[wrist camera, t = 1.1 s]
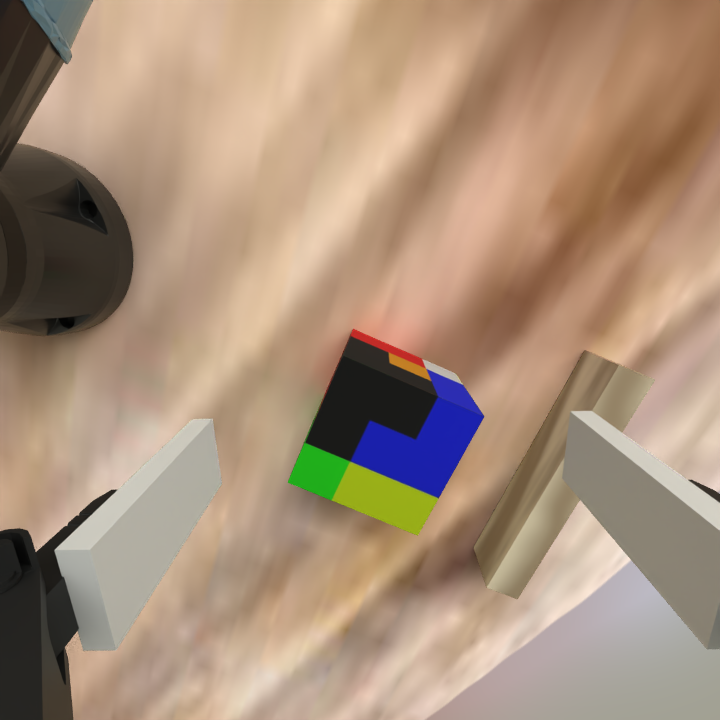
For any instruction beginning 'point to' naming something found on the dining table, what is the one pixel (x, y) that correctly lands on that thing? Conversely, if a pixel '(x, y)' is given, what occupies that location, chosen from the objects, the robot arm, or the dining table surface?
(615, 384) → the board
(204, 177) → the dining table surface
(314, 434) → the puzzle toy
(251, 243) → the dining table surface
